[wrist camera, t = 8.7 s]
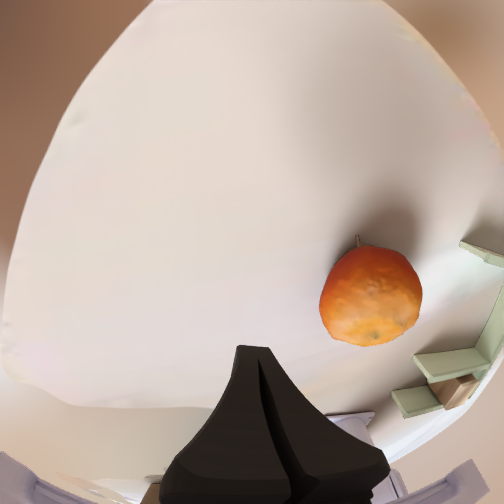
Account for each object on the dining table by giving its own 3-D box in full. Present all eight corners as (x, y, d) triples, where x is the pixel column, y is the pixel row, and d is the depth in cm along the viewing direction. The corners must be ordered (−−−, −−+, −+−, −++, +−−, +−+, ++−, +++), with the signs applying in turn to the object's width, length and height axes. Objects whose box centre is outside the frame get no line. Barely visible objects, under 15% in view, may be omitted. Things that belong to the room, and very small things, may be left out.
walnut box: (456, 356, 28) (479, 381, 22) (443, 378, 29) (463, 404, 23) (439, 359, 27) (463, 387, 21) (425, 382, 28) (446, 410, 23)
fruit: (425, 242, 20) (449, 324, 14) (368, 289, 25) (374, 364, 20) (356, 198, 18) (373, 291, 13) (301, 261, 24) (295, 344, 19)
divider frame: (455, 381, 30) (469, 398, 25) (390, 394, 28) (404, 418, 24) (514, 258, 23) (535, 270, 19) (460, 239, 22) (490, 253, 17)
